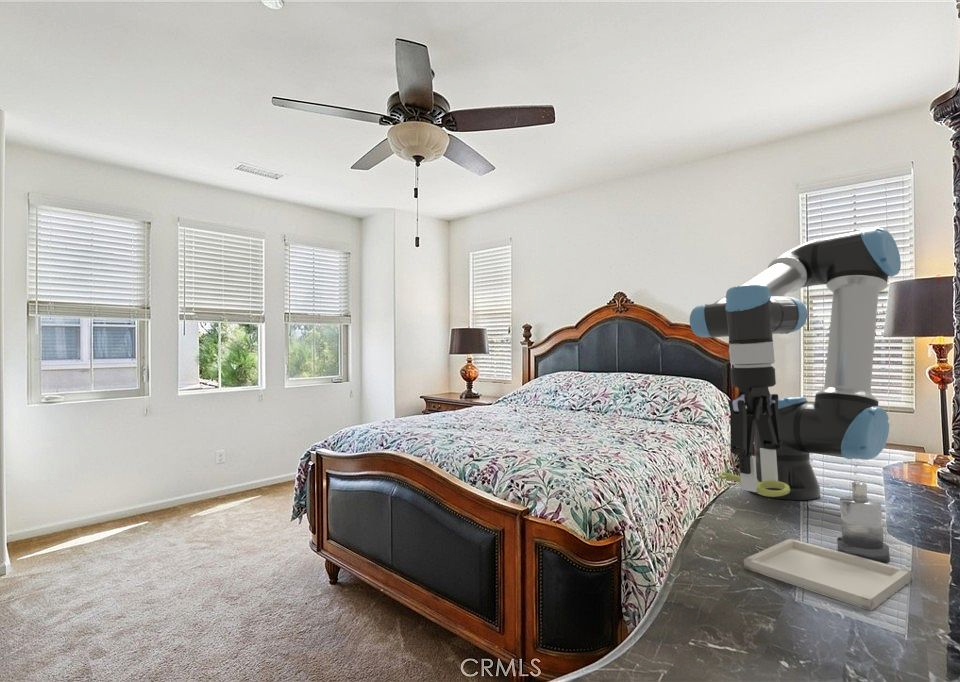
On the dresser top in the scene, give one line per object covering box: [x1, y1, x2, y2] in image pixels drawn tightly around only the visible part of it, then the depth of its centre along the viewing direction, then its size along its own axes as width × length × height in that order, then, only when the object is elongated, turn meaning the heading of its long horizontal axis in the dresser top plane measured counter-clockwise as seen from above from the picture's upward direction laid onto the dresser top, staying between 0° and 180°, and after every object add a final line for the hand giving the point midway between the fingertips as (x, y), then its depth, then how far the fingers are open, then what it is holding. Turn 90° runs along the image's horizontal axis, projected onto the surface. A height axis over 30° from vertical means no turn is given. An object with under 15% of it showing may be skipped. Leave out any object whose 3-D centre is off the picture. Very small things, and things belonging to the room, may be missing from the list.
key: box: [718, 471, 790, 498], centre depth 96 cm, size 7×12×2 cm, turn 53°
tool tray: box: [743, 538, 913, 612], centre depth 78 cm, size 15×17×2 cm
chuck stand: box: [836, 481, 891, 564], centre depth 85 cm, size 7×7×12 cm
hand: (759, 486), depth 96 cm, fingers closed on key, 7 cm apart
